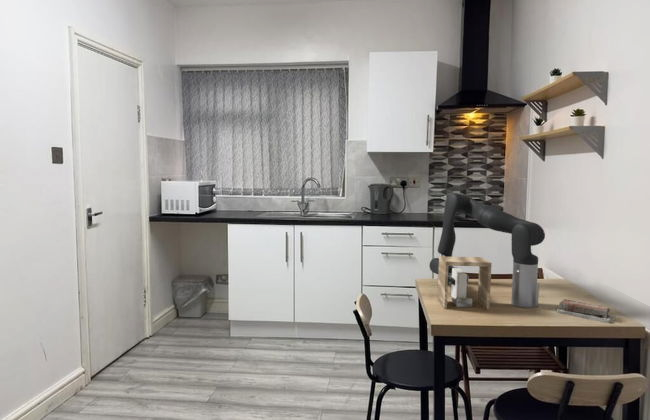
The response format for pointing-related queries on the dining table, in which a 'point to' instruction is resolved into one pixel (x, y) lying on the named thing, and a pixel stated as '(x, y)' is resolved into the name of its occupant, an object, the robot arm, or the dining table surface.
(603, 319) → the packaged product
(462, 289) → the white box
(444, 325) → the dining table surface
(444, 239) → the robot arm
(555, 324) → the dining table surface
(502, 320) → the dining table surface
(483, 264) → the wooden arch
